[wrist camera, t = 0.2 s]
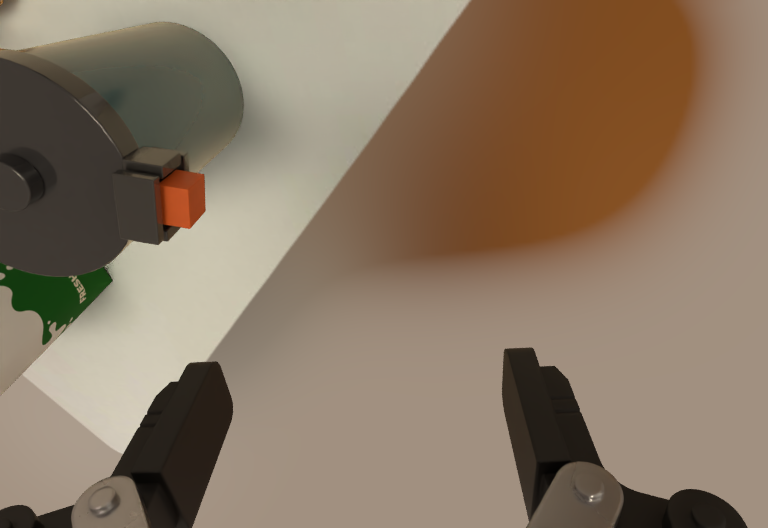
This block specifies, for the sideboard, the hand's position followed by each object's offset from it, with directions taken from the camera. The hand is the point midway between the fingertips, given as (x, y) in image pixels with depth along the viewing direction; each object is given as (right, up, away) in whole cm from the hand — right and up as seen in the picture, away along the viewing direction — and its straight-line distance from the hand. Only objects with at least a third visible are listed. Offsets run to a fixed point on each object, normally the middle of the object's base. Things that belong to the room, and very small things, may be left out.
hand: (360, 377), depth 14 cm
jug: (-15, +16, +24) cm, 32 cm away
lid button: (-9, +7, +10) cm, 15 cm away
